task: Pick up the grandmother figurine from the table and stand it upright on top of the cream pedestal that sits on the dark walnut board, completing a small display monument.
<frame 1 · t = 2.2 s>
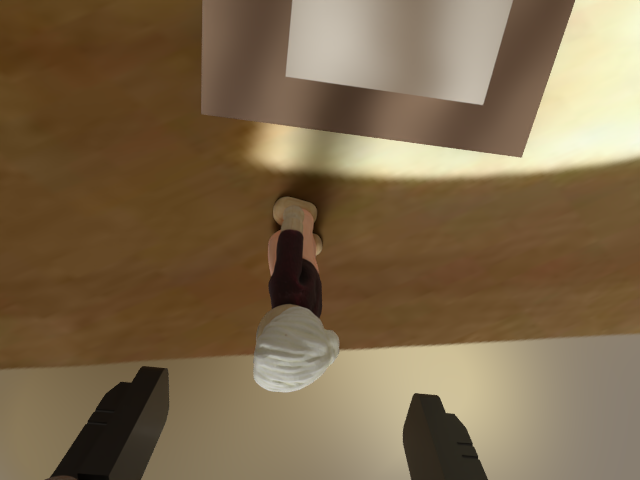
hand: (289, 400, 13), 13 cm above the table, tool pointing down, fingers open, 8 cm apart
grandmother figurine: (298, 235, 25), on the table
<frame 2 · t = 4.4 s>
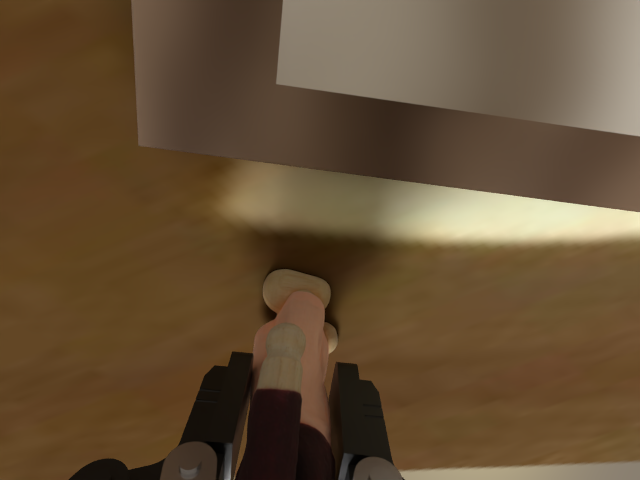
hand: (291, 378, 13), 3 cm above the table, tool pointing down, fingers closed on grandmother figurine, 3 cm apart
grandmother figurine: (302, 323, 17), on the table, touching gripper
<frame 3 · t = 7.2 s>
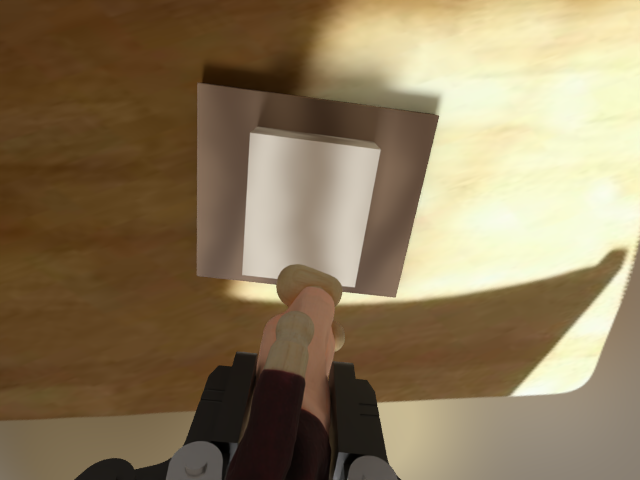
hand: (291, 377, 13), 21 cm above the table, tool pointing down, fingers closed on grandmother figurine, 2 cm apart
grandmother figurine: (311, 319, 17), point 17 cm above the table, touching gripper
plinth: (308, 198, 33), on the table
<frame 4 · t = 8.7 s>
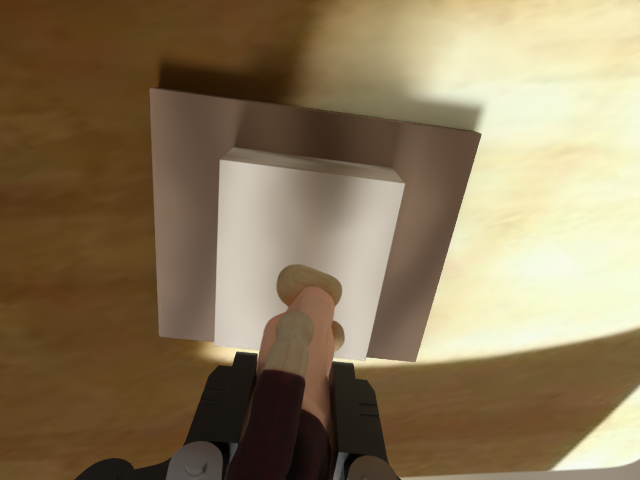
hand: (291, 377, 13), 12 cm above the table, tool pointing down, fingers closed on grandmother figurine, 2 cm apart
grandmother figurine: (311, 319, 17), point 9 cm above the table, touching gripper
plinth: (303, 238, 25), on the table
when the fingers open (9 cm above the table, at t = 10.1 s): grandmother figurine stays where it is, resting on plinth.
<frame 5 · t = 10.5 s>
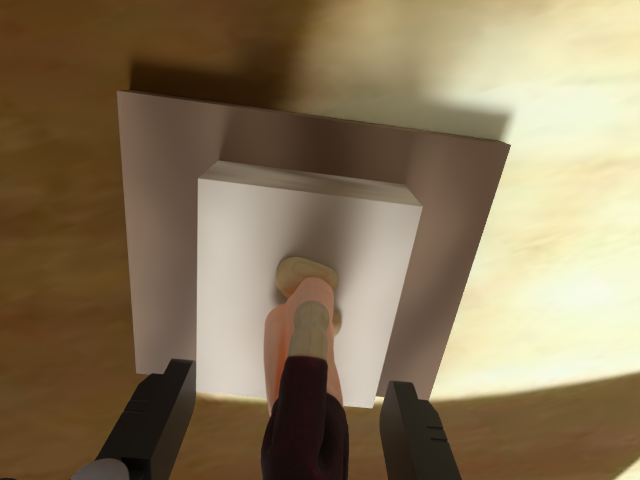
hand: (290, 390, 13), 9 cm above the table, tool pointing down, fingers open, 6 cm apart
grandmother figurine: (309, 308, 18), point 4 cm above the table, touching plinth
plinth: (301, 263, 22), on the table
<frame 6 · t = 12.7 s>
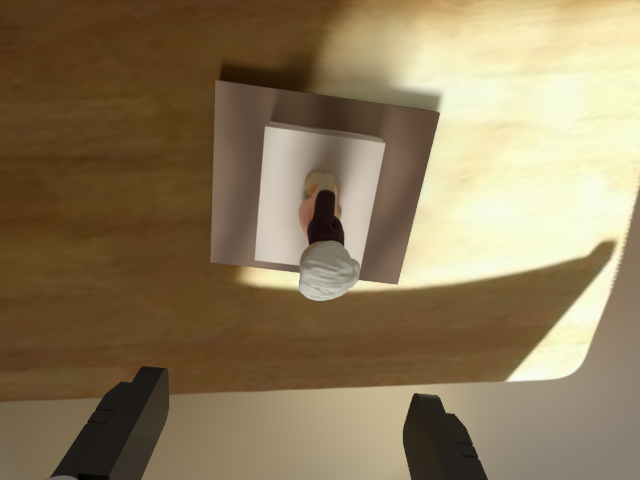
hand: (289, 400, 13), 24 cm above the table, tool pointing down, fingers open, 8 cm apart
grandmother figurine: (322, 205, 31), point 4 cm above the table, touching plinth
plinth: (316, 189, 35), on the table
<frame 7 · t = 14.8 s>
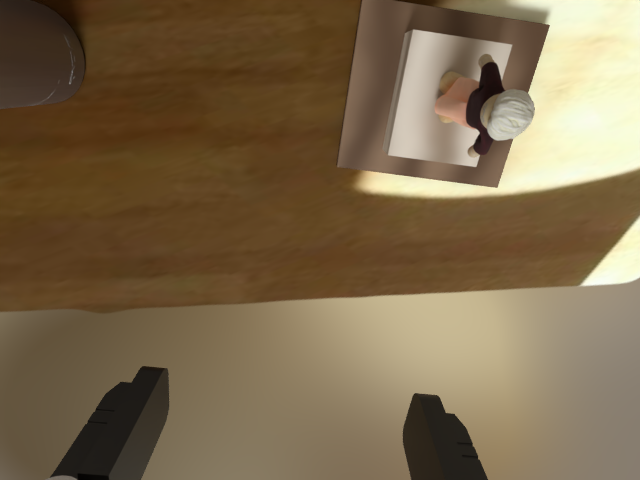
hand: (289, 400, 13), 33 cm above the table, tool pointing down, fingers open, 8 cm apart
grandmother figurine: (451, 103, 36), point 4 cm above the table, touching plinth
plinth: (433, 99, 40), on the table
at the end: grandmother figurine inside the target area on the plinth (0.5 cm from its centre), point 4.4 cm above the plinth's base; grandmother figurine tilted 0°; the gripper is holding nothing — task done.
